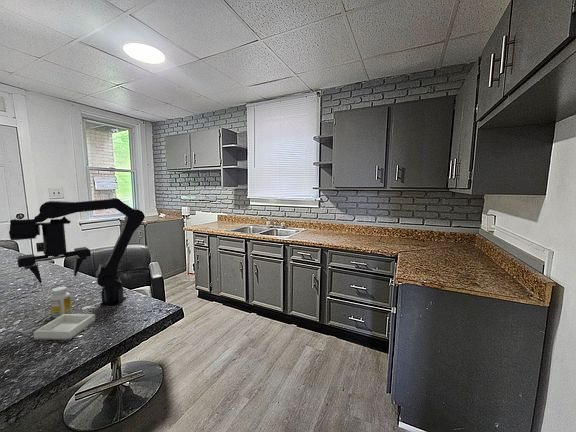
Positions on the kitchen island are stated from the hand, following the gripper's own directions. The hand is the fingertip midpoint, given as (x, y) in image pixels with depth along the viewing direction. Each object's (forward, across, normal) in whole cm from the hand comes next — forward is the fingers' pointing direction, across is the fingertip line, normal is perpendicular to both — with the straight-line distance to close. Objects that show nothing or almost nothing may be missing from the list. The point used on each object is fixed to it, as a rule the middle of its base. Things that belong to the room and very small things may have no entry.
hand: (58, 279), depth 90 cm
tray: (+13, 0, +15) cm, 19 cm away
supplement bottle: (+13, 0, 0) cm, 13 cm away
